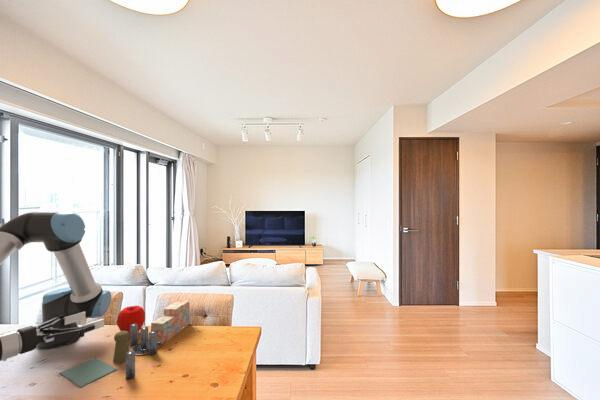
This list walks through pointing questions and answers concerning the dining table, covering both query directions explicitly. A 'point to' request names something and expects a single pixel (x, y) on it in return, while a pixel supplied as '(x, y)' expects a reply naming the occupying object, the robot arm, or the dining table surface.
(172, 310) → the stack of blocks
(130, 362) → the spacer posts
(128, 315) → the apple
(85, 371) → the mat
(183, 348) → the dining table surface
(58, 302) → the robot arm
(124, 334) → the cork
